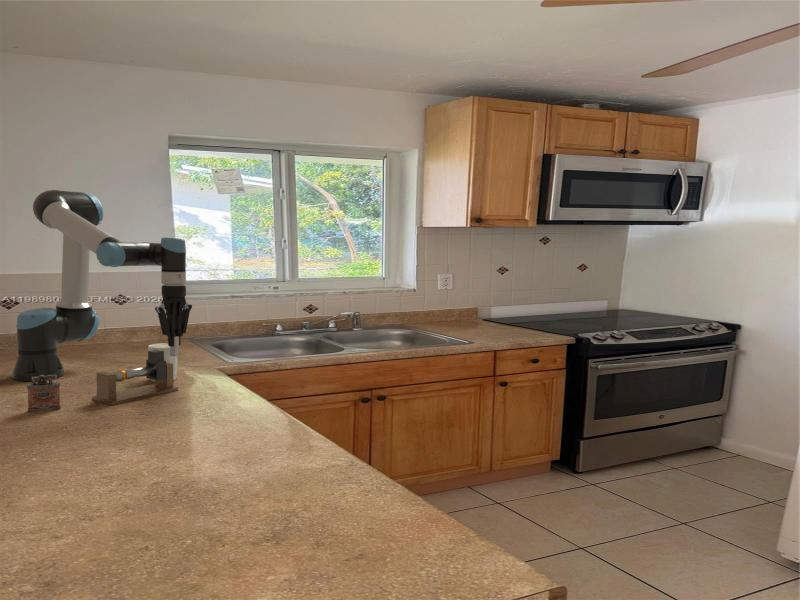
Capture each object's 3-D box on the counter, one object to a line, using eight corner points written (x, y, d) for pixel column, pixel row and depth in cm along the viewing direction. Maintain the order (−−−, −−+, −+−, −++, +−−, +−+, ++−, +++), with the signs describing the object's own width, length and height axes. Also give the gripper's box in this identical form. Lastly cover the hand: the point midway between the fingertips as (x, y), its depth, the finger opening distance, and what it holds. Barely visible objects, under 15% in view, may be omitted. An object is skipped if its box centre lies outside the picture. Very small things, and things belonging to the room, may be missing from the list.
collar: (146, 378, 195) (146, 350, 195) (154, 376, 198) (154, 349, 197) (158, 380, 192) (157, 352, 191) (166, 379, 195) (165, 351, 194)
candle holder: (168, 383, 206) (168, 348, 205) (142, 381, 208) (142, 346, 207) (184, 377, 215) (183, 343, 214) (159, 375, 217) (158, 342, 216)
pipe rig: (92, 400, 183) (91, 371, 182) (158, 385, 202) (158, 360, 201) (111, 405, 177) (111, 376, 176) (178, 390, 197) (177, 364, 196)
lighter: (27, 413, 168) (26, 377, 167) (28, 410, 171) (27, 375, 170) (60, 410, 171) (59, 375, 170) (60, 407, 174) (60, 372, 173)
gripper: (163, 286, 191) (164, 360, 193) (197, 284, 202) (198, 354, 204) (149, 284, 195) (150, 357, 197) (183, 283, 206) (183, 351, 208)
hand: (174, 355), depth 200 cm, fingers closed
